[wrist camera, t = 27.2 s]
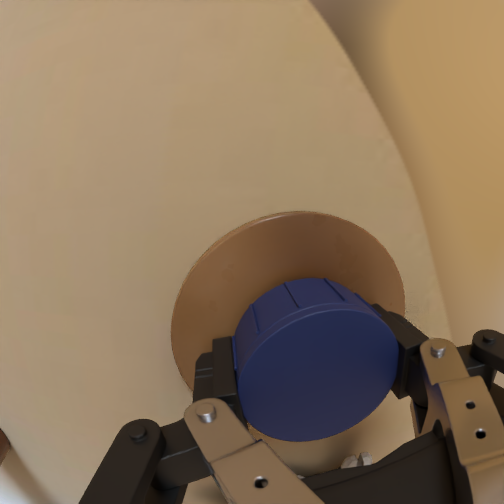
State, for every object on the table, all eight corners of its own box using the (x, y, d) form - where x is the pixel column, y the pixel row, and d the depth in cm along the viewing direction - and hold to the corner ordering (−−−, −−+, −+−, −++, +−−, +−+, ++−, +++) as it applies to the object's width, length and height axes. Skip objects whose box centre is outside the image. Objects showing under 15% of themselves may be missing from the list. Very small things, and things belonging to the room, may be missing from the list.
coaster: (205, 432, 13) (205, 440, 13) (144, 237, 11) (140, 241, 10) (391, 386, 14) (396, 393, 13) (396, 195, 11) (403, 196, 11)
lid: (209, 373, 11) (208, 422, 8) (275, 252, 10) (295, 278, 8) (321, 407, 12) (339, 449, 9) (389, 308, 11) (427, 339, 9)
